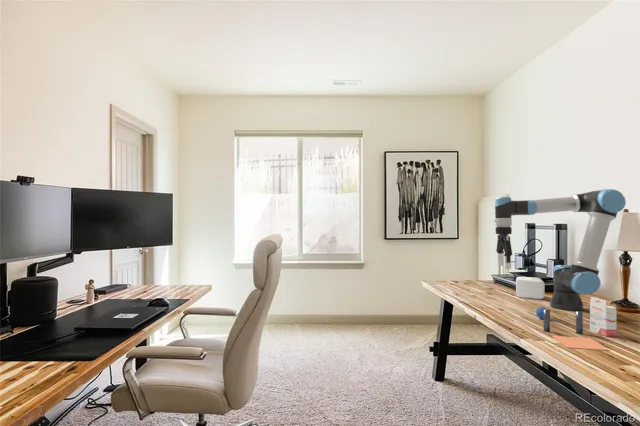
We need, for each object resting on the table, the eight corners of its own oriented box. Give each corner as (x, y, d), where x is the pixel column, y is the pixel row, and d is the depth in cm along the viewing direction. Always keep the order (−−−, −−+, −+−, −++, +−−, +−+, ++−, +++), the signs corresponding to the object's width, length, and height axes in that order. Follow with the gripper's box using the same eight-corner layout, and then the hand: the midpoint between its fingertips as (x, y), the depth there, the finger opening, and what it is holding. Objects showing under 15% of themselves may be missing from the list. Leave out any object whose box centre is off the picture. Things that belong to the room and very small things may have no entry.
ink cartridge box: (617, 336, 152) (617, 300, 152) (606, 336, 151) (606, 300, 151) (600, 330, 160) (600, 296, 160) (589, 330, 160) (589, 296, 160)
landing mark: (590, 338, 149) (590, 338, 149) (610, 350, 135) (610, 350, 135) (551, 336, 151) (551, 335, 151) (567, 347, 138) (567, 347, 138)
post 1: (548, 330, 159) (548, 309, 159) (551, 332, 157) (551, 310, 157) (542, 330, 159) (542, 309, 160) (544, 331, 157) (544, 310, 157)
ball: (546, 317, 181) (546, 306, 181) (551, 320, 175) (551, 308, 175) (534, 316, 182) (534, 305, 182) (538, 319, 176) (538, 308, 176)
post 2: (581, 332, 157) (581, 311, 157) (583, 334, 154) (583, 312, 154) (574, 332, 157) (574, 310, 157) (577, 333, 155) (577, 312, 155)
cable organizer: (543, 297, 229) (543, 278, 229) (544, 300, 220) (544, 280, 220) (516, 294, 236) (516, 276, 236) (515, 297, 227) (515, 278, 227)
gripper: (489, 226, 207) (490, 264, 206) (502, 227, 182) (503, 270, 182) (504, 226, 205) (505, 264, 205) (518, 227, 181) (519, 270, 180)
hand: (504, 267), depth 193 cm, fingers open, 13 cm apart
